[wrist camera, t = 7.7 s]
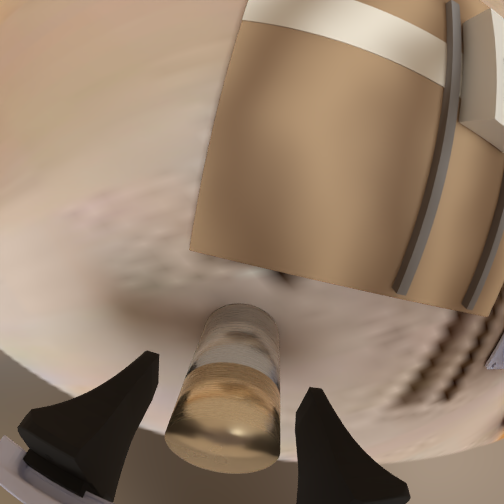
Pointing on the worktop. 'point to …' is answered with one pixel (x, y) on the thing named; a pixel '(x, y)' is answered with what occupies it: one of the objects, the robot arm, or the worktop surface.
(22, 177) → the worktop surface
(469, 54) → the block
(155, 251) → the worktop surface
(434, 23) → the board
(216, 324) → the marbled round peg
